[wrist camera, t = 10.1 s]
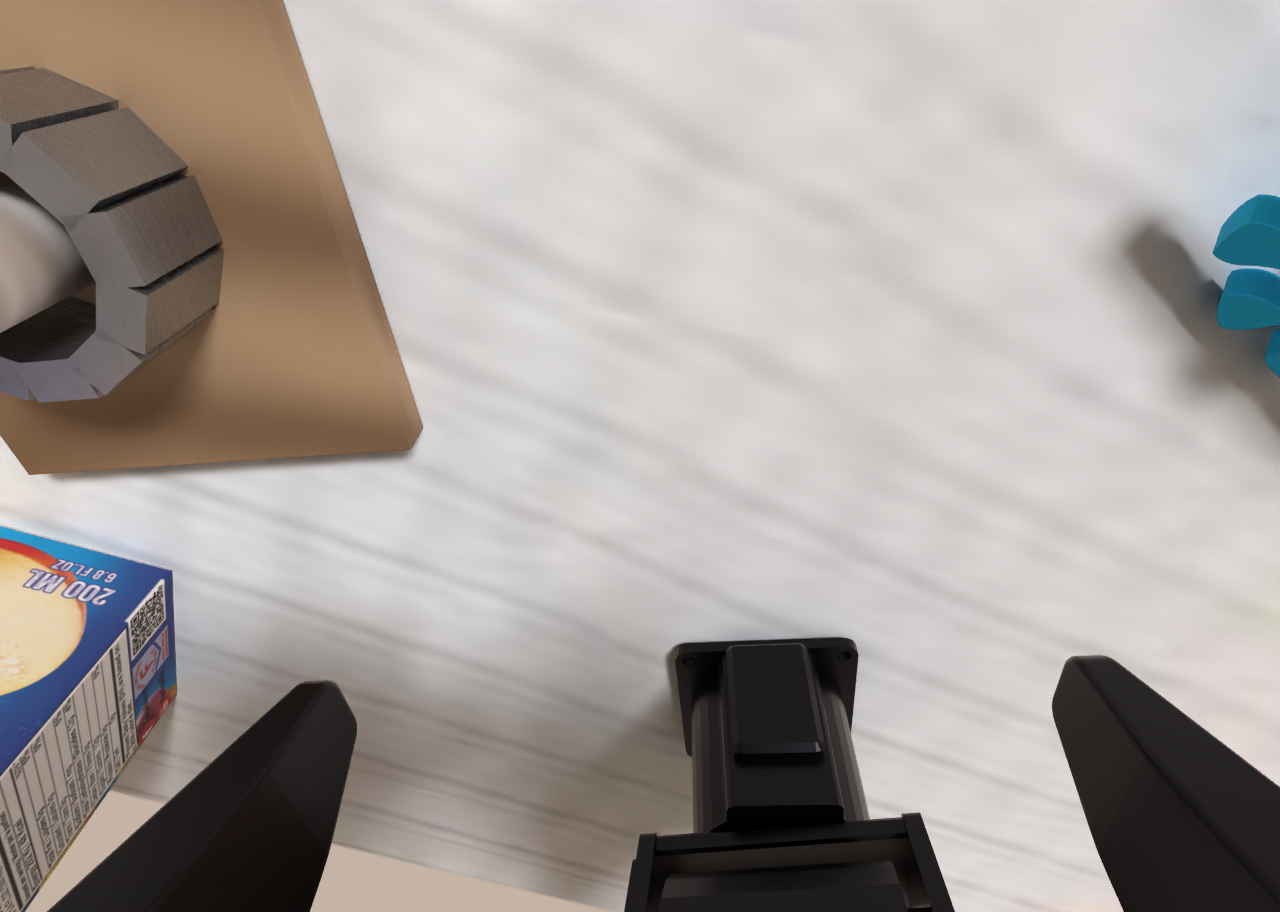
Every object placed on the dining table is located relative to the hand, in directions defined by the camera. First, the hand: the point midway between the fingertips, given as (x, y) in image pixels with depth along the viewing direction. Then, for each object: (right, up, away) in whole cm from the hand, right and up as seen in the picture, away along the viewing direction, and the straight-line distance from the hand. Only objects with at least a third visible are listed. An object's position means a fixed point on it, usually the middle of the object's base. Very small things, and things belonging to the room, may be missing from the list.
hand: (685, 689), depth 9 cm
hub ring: (-14, +8, +8) cm, 18 cm away
